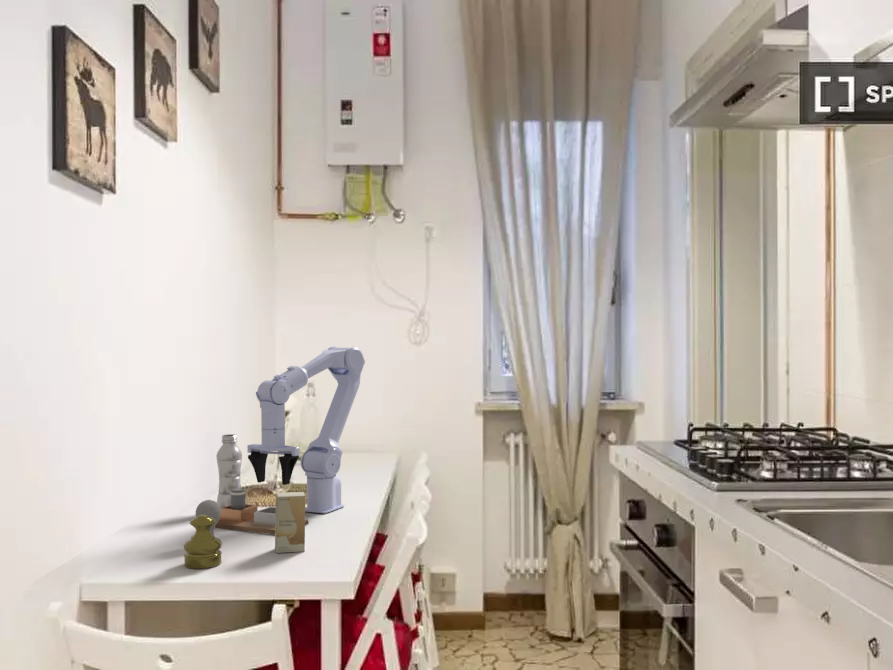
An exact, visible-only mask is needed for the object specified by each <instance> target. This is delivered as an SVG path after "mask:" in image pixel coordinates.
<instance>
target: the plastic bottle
mask: <svg viewBox="0 0 893 670" xmlns="http://www.w3.org/2000/svg"><path fill="white" fill-rule="evenodd" d="M237 437H238V436H237V434H231V433H229V434H222V435H221V444H222V445H221V446H220V448H218V451H217V452H216V462H217V463H216V464H217V469H218V490H217V491H218V494H217V499H216V502H217V503H218V504H219V506H220V508H222V507H225V506H228V505H231V490H235V489H242V487H241V485H242V484H241V467H242V459H243V454H242V453H243V452H242V451H241V449H240V447H239V446H238V445H237V442H238V438H237Z"/></svg>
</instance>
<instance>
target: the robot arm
mask: <svg viewBox="0 0 893 670" xmlns="http://www.w3.org/2000/svg"><path fill="white" fill-rule="evenodd" d="M365 364H366V361H365V358H364V355H363V352H362V350H361V349H360V348H359V347H356V346H355V347H354V346H352V347H340V346H339V347H336V346H330V347H329V348H327V349H323V351H322V352H321V353H320V354H319V355H317V356H316V357H315V358H313V359H312V360H310V361H309V362H307V363H306V364H303V366H301V367H300V366H297V365H290V366H288V367H287V368H286V369H287V370H285V371H284V372H283V373H281V374H275V375H274V376H273V378H272V379H271V380H268V379H267V380H263V381H262V382H261V383H260V384H259V386H258V388H257V391H255V396H256V399H257V401H259V408H260V410H261V411H260V412H261V415H260V416H261V419H260V420H261V422H260V423H261V424H260V425H261V444H259V443H257V444H256V443H255V444H254V443H252V444H248V445H247V450H246V451H247V453H249V454H248V455H247V459H248V461H249V462H250V464H251V465H252V467H253V470H254V473H255V477H256V481H257V483H258V484H259V483H264V482H265V481H266V465H267V461H268V460H267V459H268V455H281V456H278V460H279V464H280V469H281V483H282V485H284V486H286V485H289V484H291V478H292V474H293V471H294V468H295V466H296V464H297V462H298V461H299V458H300V466H301V469H302V471H303V472H305V473H304V475H305V476H306V506H305V513H306V512H308V513H314V514H315V513H317V514H328V513H330V512H333V511H335V510H338V509H341V508H344V507H345V504H342V481H341V479H340V477H339V476H338V475H337V474H338V472H339V471H340V469H341V459H342V455H343V450H342V449H341V447H340V445H339V442H340V439H341V437H342V434H343V431H344V429H345V426H346V422H347V420H348V417H349V415H350V412H351V409H352V407H353V404H354V401H355V398H356V396H357V392H358V390H359V387H360V384H361V375H362V371H363V369H364V365H365ZM325 370H328V371H329V373H330V374H331V375H332V376H333V378H334V379H335V381H336V382H337V387H336V389H335V393H334V394H333V397H332V399H331V402H330V406H329V408H328V410H327V413H326V416H325V419H324V421H323V424H322V427H321V430H320V432H319V435H318V437H316V438H315V439H314V440H312V441H311V442H310V443H309V444H308V446H307V449H306V450H305V451H304V452H303V453H302V455H301V457H299V456H300V454H301V451H300V450H301V448H300V446H292V445H286V427H285V424H286V419H285V418H286V415H285V414H286V407H285V405H286V404H285V403H287V402H288V400H289V399H290V395H293V394H294V393H296V392H297V391H299V390H301V389H303V388H304V387H305V386H307V384H308V382H309V380H308V379H310V378H311V377H314V376H316V375H318V374H320V373H321V372H323V371H325Z"/></svg>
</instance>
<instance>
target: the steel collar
mask: <svg viewBox="0 0 893 670" xmlns="http://www.w3.org/2000/svg"><path fill="white" fill-rule="evenodd" d="M275 515H276V506H269V507H266V508H263V509H258V510H257V511H256V512H254V525H262V526H270V527H275Z"/></svg>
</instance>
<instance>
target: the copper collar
mask: <svg viewBox="0 0 893 670" xmlns="http://www.w3.org/2000/svg"><path fill="white" fill-rule="evenodd" d="M245 505H246V508H245V509H242V510H236V509H231V505H228V506H225V507H222V508H221V516H220V519H219V521H228V522H236V523H242V522H245V521H248V520H251V519H254V512H256V511H258V505H257V504H249V503H245Z"/></svg>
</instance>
